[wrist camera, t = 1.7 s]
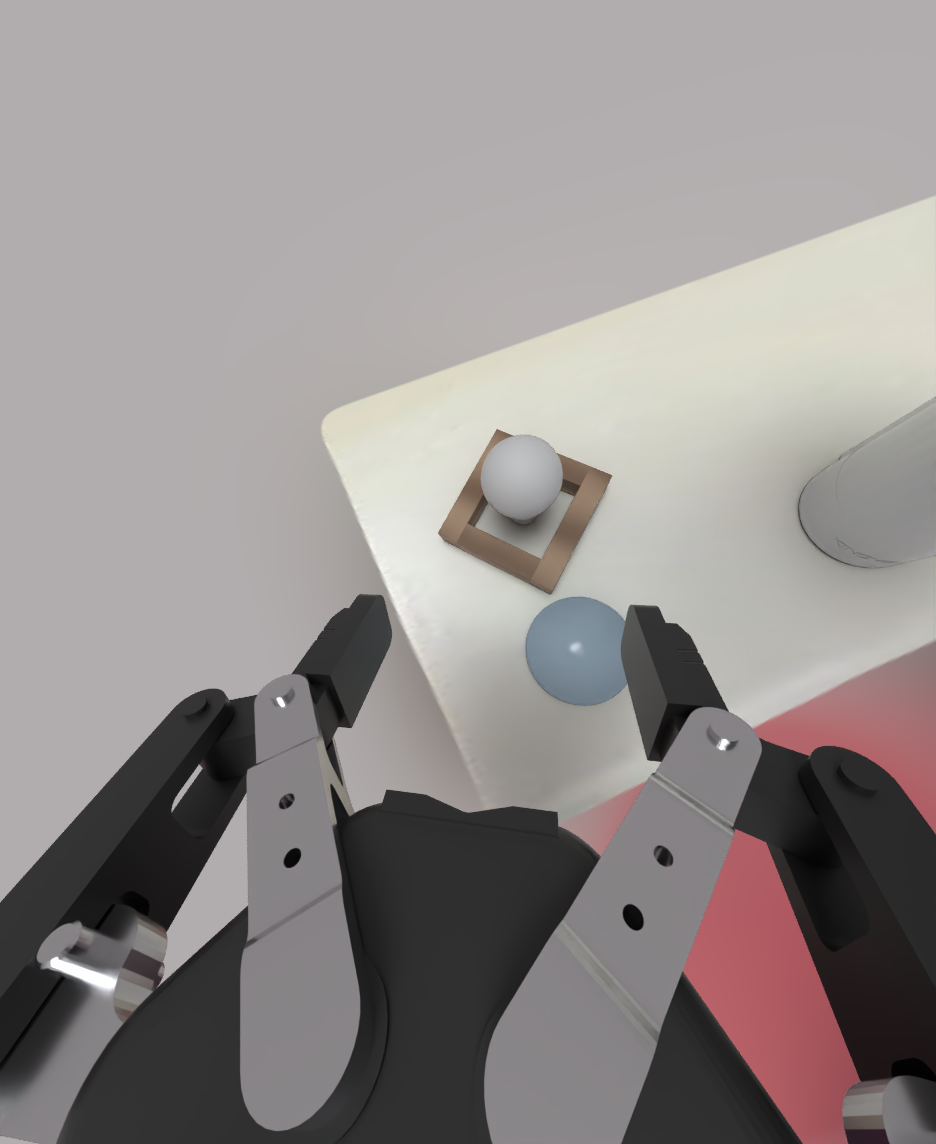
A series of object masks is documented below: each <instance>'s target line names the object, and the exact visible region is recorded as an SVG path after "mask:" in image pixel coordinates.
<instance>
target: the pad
mask: <svg viewBox="0 0 936 1144" xmlns="http://www.w3.org/2000/svg"><path fill="white" fill-rule="evenodd" d="M624 626H625V621H624V619H623V618H622V617H621V616H620V615H619V614H618V613H617V612H616V611H615V610H613V609H612V608H611V607H609V606H608V605H606V604H604V603H602V602H600V601H597V600H594V599H590V598H585V597H571V598H565V599H561V600H559V601H556V602H554V603H552V604H550V605H549V606H547V607H546V608H544V609H543V610H542V611H541V612H540V613H539V614H538V616H537V617H536V618H535V619H534V621H533V623H532V624H531V627H530V629H529V632H528V635H527V641H526V655H527V660H528V664H529V667H530V670H531V672H532V674H533V676H534V677H535V679H536V680H537V682H538V683H539V684H540V685H541V686H542V688H543V689H544V690H546V691H547V692H548V693H549V694H551V695H552V696H554V697H555V698H557V699H559V700H561V701H564V702H566V703H570V704H574V705H594V704H599V703H602V702H605V701H607V700H609V699H611V698H613V697H614V696H615V695H617V694H618V693H619V692H620V691H621V690H622V689H623V688H624V687H625V686H626V684H627V679H626V676H625V672H624V668H623V664H622V660H621V640H622V636H623V631H624Z"/></svg>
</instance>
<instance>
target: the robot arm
mask: <svg viewBox="0 0 936 1144" xmlns="http://www.w3.org/2000/svg"><path fill="white" fill-rule="evenodd" d="M799 511H800V519H801V522H802V525H803V528H804V529H805V531H806V533H807V534H808V536H809V538H810V539H811V540H812V541H813V542H814V543H815V544H816V545H817V546H818V547H819V548H820V549H821V550H823V551H824V552H825V553H827V554H828V555H829V556H831V557H833V558H835V559H837V560H840V561H842V562H844V563H848V564H851V565H854V566H860V567H868V568H875V567H887V566H891V565H896V564H900V563H905V562H909V561H914V560H918V559H923V558H927V557H932V556H936V397H934V398H933V399H931V400H929V401H928V402H926V403H925V404H923V405H921V406H920V407H918V408H916V409H915V410H913V411H912V412H910V413H908V414H907V415H905V416H904V417H902V418H900V419H899V420H897V421H895V422H894V423H892V424H891V425H889V426H887V427H886V428H884V429H883V430H881V431H879V432H878V433H876V434H875V435H873V436H871V437H870V438H868V439H866V440H865V441H863V442H862V443H860V444H858V445H857V446H855V447H854V448H852V449H850V450H849V451H847V452H845V453H844V454H842V455H841V458H840V460H839V461H837V462H836V463H834V464H832V465H831V466H829V467H827V468H826V469H824V470H823V471H821V472H820V473H818V474H817V475H816V476H814V477H813V478H812V479H811V480H810V482H809V483H808V484H807V485H806V486H805V489H804V491H803V493H802V495H801V499H800V504H799ZM391 638H392V629H391V625H390V621H389V617H388V613H387V609H386V605H385V601H384V598H383V596H381V595H368V594H360V595H358V596H357V597H356V599H355V600H354V602H353V603H352V605H351V606H350V608H344V609H343V610H341V611H340V612H338V613H337V614H336V615H335V616H333V617H332V618H331V619H330V621H329V622H328V624H327V625H326V626H325V628H324V631H322V632H321V633H320V635H319V636H318V638H317V640H316V641H315V642H314V643H313V645H312V646H311V647H310V649H309V650H308V652H307V653H306V654H305V656H304V657H303V659H302V660H301V662H300V663H299V664H298V666H297V667H296V668H295V670H294V671H293V673H292V674H290V675H285V676H282V677H279V678H277V679H275V680H273V681H271V682H270V683H269V684H267V685H266V686H265V687H264V688H263V689H262V690H261V691H260V692H259V693H258V695H254V696H249V697H244V698H239V699H234V700H229V699H228V698H227V696H226V695H225V693H224V692H223V691H222V690H219V689H206V690H203V691H200V692H197V693H195V694H193V695H191V696H189V697H188V698H186V699H184V700H183V701H182V702H180V703H179V704H178V705H177V706H176V707H175V708H174V709H173V710H172V711H171V712H170V713H169V714H168V716H167V717H166V718H165V719H164V720H163V721H162V722H161V724H160V725H159V726H158V727H157V728H156V729H155V730H154V731H153V732H152V734H151V735H150V736H149V737H148V738H147V739H146V740H145V741H144V742H143V744H142V745H141V746H140V747H139V748H138V749H137V750H136V751H135V753H134V754H133V755H132V756H131V757H130V758H129V759H128V760H127V761H126V763H125V764H124V765H123V766H122V767H121V768H120V769H119V771H118V772H117V773H116V774H115V775H114V776H113V777H112V778H111V780H110V781H109V782H108V783H107V784H106V785H105V786H104V787H103V788H102V790H100V792H99V793H98V794H97V795H96V796H95V797H94V798H93V800H92V801H91V802H90V803H89V804H88V805H87V806H86V807H85V809H84V810H83V811H82V812H81V813H80V814H79V815H78V816H77V817H76V819H75V820H74V821H73V822H72V823H71V824H70V825H69V826H68V827H67V829H66V830H65V831H64V832H63V833H62V834H61V835H60V836H59V837H58V839H57V840H56V841H55V842H54V843H53V844H52V845H51V847H50V848H49V849H48V850H47V851H46V852H45V853H44V854H43V855H42V857H41V858H40V859H39V860H38V861H37V862H36V863H35V864H34V865H33V867H32V868H31V869H30V870H29V871H28V872H27V873H26V874H25V876H24V877H23V878H22V879H21V880H20V881H19V882H18V883H17V884H16V886H15V887H14V888H13V889H12V890H11V891H10V892H9V893H8V894H7V896H6V897H5V898H4V899H3V900H2V901H1V903H0V1136H5V1137H10V1138H15V1139H19V1140H24V1141H29V1142H34V1143H39V1144H803V1143H802V1142H801V1140H800V1139H799V1138H798V1136H797V1135H796V1133H795V1132H794V1130H793V1129H792V1127H791V1126H790V1125H789V1123H788V1122H787V1120H786V1119H785V1117H784V1116H783V1114H782V1113H781V1112H780V1110H779V1109H778V1107H777V1106H776V1105H775V1103H774V1102H773V1100H772V1099H771V1097H770V1096H769V1094H768V1093H767V1092H766V1090H765V1089H764V1088H763V1086H762V1084H761V1083H760V1082H759V1080H758V1079H757V1077H756V1076H755V1074H754V1073H753V1072H752V1070H751V1069H750V1067H749V1066H748V1064H747V1063H746V1061H745V1060H744V1059H743V1057H742V1056H741V1055H740V1053H739V1051H738V1050H737V1049H736V1047H735V1046H734V1044H733V1043H732V1041H731V1040H730V1039H729V1037H728V1036H727V1034H726V1033H725V1031H724V1030H723V1029H722V1027H721V1026H720V1025H719V1023H718V1021H717V1020H716V1018H715V1017H714V1016H713V1014H712V1013H711V1011H710V1010H709V1008H708V1007H707V1006H706V1004H705V1003H704V1002H703V1000H702V998H701V997H700V996H699V994H698V993H697V991H696V990H695V989H694V987H693V986H692V984H691V983H690V981H689V980H688V979H687V977H686V975H685V974H684V973H683V968H684V966H685V963H686V960H687V958H688V955H689V953H690V950H691V947H692V945H693V942H694V940H695V937H696V934H697V931H698V929H699V927H700V924H701V921H702V919H703V916H704V913H705V911H706V908H707V905H708V903H709V900H710V898H711V895H712V892H713V890H714V887H715V885H716V882H717V879H718V877H719V874H720V871H721V869H722V866H723V863H724V861H725V858H726V856H727V853H728V850H729V848H730V845H731V842H732V839H733V836H734V832H735V829H737V830H740V831H742V832H744V833H746V834H749V835H751V836H753V837H756V838H758V839H760V840H762V841H765V842H766V843H767V845H768V848H769V850H770V853H771V855H772V858H773V860H774V863H775V866H776V868H777V870H778V873H779V875H780V878H781V881H782V883H783V886H784V888H785V891H786V893H787V896H788V899H789V901H790V904H791V906H792V909H793V911H794V914H795V916H796V919H797V921H798V924H799V926H800V929H801V931H802V934H803V937H804V939H805V941H806V944H807V946H808V949H809V952H810V954H811V956H812V959H813V962H814V964H815V967H816V970H817V972H818V974H819V977H820V979H821V982H822V985H823V987H824V990H825V992H826V995H827V997H828V1000H829V1002H830V1005H831V1008H832V1010H833V1013H834V1015H835V1018H836V1020H837V1023H838V1025H839V1028H840V1030H841V1033H842V1035H843V1038H844V1040H845V1043H846V1046H847V1048H848V1051H849V1053H850V1056H851V1058H852V1060H853V1063H854V1066H855V1068H856V1071H857V1073H858V1076H859V1079H860V1081H861V1082H858V1083H856V1084H854V1085H852V1086H851V1087H850V1088H849V1089H848V1091H847V1093H846V1095H845V1097H844V1102H843V1123H844V1130H845V1134H846V1137H847V1142H848V1144H936V834H935V833H934V831H933V830H932V829H931V827H930V826H929V825H928V823H927V822H926V821H925V819H924V818H923V816H922V815H921V814H920V812H919V811H918V810H917V808H916V807H915V806H914V804H913V803H912V801H911V800H910V799H909V797H908V796H907V795H906V793H905V792H904V791H903V789H902V788H901V787H900V785H899V784H898V783H897V782H896V780H895V779H894V778H893V777H891V775H890V774H889V773H887V772H886V771H885V770H884V769H883V768H881V767H880V766H878V765H877V764H876V763H874V762H873V761H871V760H869V759H868V758H866V757H864V756H862V755H860V754H858V753H856V752H853V751H851V750H848V749H844V748H840V747H836V746H822V747H819V748H817V749H815V750H814V751H813V752H812V754H811V755H810V756H808V755H804V754H802V753H798V752H795V751H793V750H790V749H787V748H784V747H781V746H778V745H775V744H772V743H769V742H767V741H765V740H762V739H760V738H758V736H757V734H756V733H755V732H754V730H753V729H752V728H751V727H750V726H749V725H748V724H747V723H746V722H745V721H743V720H742V719H741V718H739V717H738V716H736V715H734V714H732V713H730V712H729V711H728V709H727V707H726V705H725V703H724V701H723V699H722V697H721V695H720V693H719V691H718V689H717V688H716V686H715V684H714V682H713V680H712V678H711V676H710V674H709V672H708V670H707V668H706V666H705V665H704V664H703V660H702V658H701V656H700V654H699V653H698V652H697V651H698V650H697V648H696V646H695V644H694V642H693V640H692V638H691V636H690V635H689V634H688V633H686V632H685V631H684V630H683V629H682V628H681V627H680V626H679V625H678V624H674V623H665V620H664V618H663V616H662V614H661V611H660V609H659V607H658V606H646V605H630V606H629V608H628V612H627V617H626V622H625V626H624V631H623V636H622V640H621V660H622V664H623V668H624V672H625V676H626V679H627V683H628V687H629V691H630V695H631V699H632V703H633V706H634V710H635V714H636V718H637V722H638V726H639V729H640V733H641V737H642V741H643V745H644V749H645V753H646V756H647V760H649V761H659V762H661V764H660V766H659V767H658V769H657V771H656V772H655V773H652V774H651V776H650V777H649V779H648V780H647V782H646V783H645V785H644V787H643V789H642V790H641V792H640V793H639V795H638V797H637V798H636V800H635V802H634V803H633V805H632V807H631V808H630V810H629V812H628V813H627V815H626V816H625V818H624V820H623V821H622V823H621V825H620V826H619V828H618V830H617V831H616V833H615V835H614V836H613V838H612V840H611V841H610V843H609V845H608V846H607V848H606V850H605V851H604V853H603V854H602V856H600V855H599V854H598V853H597V852H596V851H595V850H594V849H593V848H591V847H590V846H589V845H588V844H587V843H586V842H584V841H583V840H582V839H580V838H579V837H578V836H576V835H574V834H573V833H571V832H569V831H568V830H566V829H564V828H561V827H559V826H558V814H557V812H552V811H545V810H537V809H530V808H522V807H515V806H511V807H505V808H498V809H492V810H485V811H479V812H472V813H466V812H463V811H461V810H458V809H456V808H454V807H452V806H450V805H447V804H445V803H443V802H441V801H438V800H436V799H434V798H432V797H430V796H427V795H423V794H416V793H408V792H401V791H393V790H386V793H385V796H384V799H383V802H382V803H379V804H376V805H372V806H369V807H366V808H364V809H362V810H359V811H358V812H356V813H354V810H353V807H352V804H351V801H350V799H349V795H348V792H347V788H346V784H345V780H344V776H343V772H342V767H341V763H340V760H339V755H338V751H337V747H336V743H335V740H334V737H333V736H334V734H335V732H336V730H337V728H338V727H346V728H352V726H353V724H354V722H355V720H356V717H357V715H358V713H359V711H360V709H361V707H362V705H363V702H364V700H365V698H366V696H367V694H368V692H369V689H370V687H371V685H372V683H373V681H374V679H375V677H376V674H377V672H378V670H379V668H380V665H381V664H382V662H383V659H384V657H385V655H386V653H387V651H388V649H389V646H390V643H391ZM199 764H200V765H201V767H202V768H203V769H202V770H201V772H200V773H199V775H198V776H197V778H196V779H195V780H194V782H193V783H192V785H191V786H190V787H189V789H188V790H187V792H186V793H185V794H184V796H183V797H182V799H181V800H180V802H179V803H178V804H177V806H176V807H175V809H174V810H173V812H172V813H171V809H172V804H173V802H174V799H175V797H176V796H177V794H178V793H179V791H180V790H181V789H182V787H183V786H184V784H185V783H186V782H187V780H188V779H189V777H190V776H191V775H192V773H193V772H194V771H195V769H196V768H197V766H198V765H199ZM246 792H247V853H248V854H247V855H248V906H247V907H246V908H245V909H244V910H243V911H241V912H240V913H239V914H238V915H237V916H236V917H235V918H234V919H232V920H231V921H230V922H229V923H228V924H227V925H226V926H225V927H224V928H223V929H221V930H220V931H219V932H218V933H217V934H216V935H215V936H214V937H213V938H212V939H211V940H209V941H208V942H207V943H206V944H205V945H204V946H203V947H202V948H200V949H199V950H198V951H197V952H196V953H195V954H194V955H193V956H192V957H191V958H189V959H188V960H187V961H186V962H185V963H184V964H183V965H182V966H181V967H180V968H178V969H177V970H176V971H175V972H174V973H173V974H172V975H171V976H170V977H169V978H167V979H166V980H165V981H164V982H163V983H162V984H161V985H160V986H159V987H158V985H159V984H160V982H161V980H162V977H163V975H164V970H165V967H164V963H163V960H164V957H165V954H166V949H167V933H166V932H167V930H168V929H169V927H170V925H171V923H172V922H173V920H174V918H175V916H176V915H177V913H178V911H179V909H180V908H181V906H182V904H183V902H184V901H185V899H186V897H187V895H188V894H189V892H190V890H191V888H192V887H193V885H194V883H195V882H196V880H197V878H198V876H199V875H200V873H201V871H202V869H203V867H204V866H205V864H206V862H207V861H208V859H209V857H210V855H211V854H212V851H213V850H214V848H215V847H216V845H217V843H218V841H219V840H220V838H221V836H222V834H223V833H224V831H225V829H226V827H227V826H228V824H229V822H230V820H231V818H232V817H233V815H234V813H235V811H236V810H237V808H238V806H239V805H240V803H241V801H242V799H243V797H244V796H245V794H246ZM734 828H735V829H734Z"/></svg>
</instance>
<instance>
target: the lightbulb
mask: <svg viewBox="0 0 936 1144" xmlns="http://www.w3.org/2000/svg"><path fill="white" fill-rule="evenodd" d="M562 481H563V470H562V464H561V462H560V459H559V456H558V455H557V453H556V452H555V450H554V449H553V448H552V447H551V446H550V445H549V444H548V443H547V442H546V441H544V440H543V439H540V438H538V437H536V436H531V435H516V436H512V437H509V438H506V439H504V440H502V441H500V442H499V443H498V444H497V445H495V446H494V447H493V448H492V449H491V451H490V452H489V453H488V455H487V457H486V459H485V460H484V463H483V466H482V471H481V486H482V490H483V493H484V496H485V498H486V499H487V501H488V502H489V504H490V505H491V506H492V507H493V508H494V509H495V510H497V511H498V512H499V513H501V514H503V515H505V516H507V517H511V518H512V519H513V521H515V522H516V523H518V524H528V523H530V522H531V521H533V520H534V518H535V517H536V515H538V514H540V513H542V512H543V511H545V510H546V509H547V508H548V507H549V506H550V505H551V504H552V503H553V502H554V501H555V499H556V498H557V496H558V494H559V492H560V489H561V486H562Z"/></svg>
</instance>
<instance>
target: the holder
mask: <svg viewBox="0 0 936 1144" xmlns="http://www.w3.org/2000/svg"><path fill="white" fill-rule="evenodd" d="M512 436H513V435H510V434H508V433H505V432H503V431H500V430H498V429H497V430H496V432H495V433H494V435H493V437H492V439H491V440H490V442H489V444H488V446H487V447H486V449H485V451H484V453H483V455H482V456H481V458H480V460H479V462H478V463H477V465H476V467H475V469H474V470H473V472H472V474H471V476H470V477H469V479H468V481H467V483H466V485H465V486H464V488H463V490H462V492H461V493H460V495H459V497H458V499H457V500H456V502H455V504H454V506H453V507H452V509H451V511H450V513H449V515H448V516H447V518H446V520H445V522H444V523H443V525H442V527H441V529H440V530H439V532H438V534H439V535H440V536H441V537H442V539H443V540H444V541H446V542H448V543H450V544H452V545H454V546H456V547H458V548H460V549H462V550H464V551H466V552H468V553H470V554H471V555H473V556H475V557H477V558H479V559H481V560H483V561H485V562H487V563H489V564H491V565H493V566H495V567H497V568H499V569H501V570H503V571H505V572H507V573H509V574H511V575H513V576H515V577H517V578H519V579H521V580H523V581H525V582H527V583H529V584H531V585H533V586H535V587H537V588H539V589H541V590H543V591H545V592H547V593H549V594H551V593H552V591H553V589H554V587H555V585H556V583H557V581H558V580H559V578H560V576H561V574H562V572H563V570H564V568H565V566H566V564H567V562H568V560H569V559H570V557H571V555H572V553H573V551H574V549H575V547H576V545H577V543H578V541H579V539H580V537H581V536H582V534H583V532H584V530H585V528H586V526H587V524H588V522H589V520H590V518H591V516H592V515H593V513H594V511H595V509H596V507H597V505H598V503H599V501H600V499H601V497H602V495H603V493H604V492H605V490H606V488H607V486H608V483H609V481H610V479H611V477H612V475H610V474H608V473H605V472H603V471H600V470H598V469H595V468H593V467H590V466H588V465H585V464H583V463H580V462H578V461H575V460H573V459H570V458H568V457H565V456H563V455H560V454H558V453H557V455H558V456H559V459H560V462H561V464H562V470H563V481H562V486H561V489H560V490H562V491H564V492H566V493H569V494H571V495H573V496H575V497H574V499H573V501H572V503H571V505H570V507H569V509H568V511H567V513H566V514H565V516H564V518H563V520H562V522H561V524H560V526H559V528H558V529H557V531H556V533H555V535H554V537H553V539H552V541H551V543H550V545H549V546H548V548H547V550H546V552H545V554H544V556H543V558H542V559H540V558H538V557H535V556H533V555H531V554H529V553H527V552H525V551H523V550H521V549H519V548H517V547H515V546H513V545H511V544H508V543H506V542H504V541H502V540H500V539H498V538H496V537H494V536H492V535H490V534H488V533H486V532H484V531H482V530H479V529H477V528H475V527H474V526H475V524H476V523H477V521H478V519H479V517H480V515H481V514H482V512H483V510H484V508H485V507H486V505H487V503H488V501H487V499H486V498H485V496H484V493H483V490H482V486H481V471H482V466H483V463H484V460H485V459H486V457H487V455H488V453H489V452H490V451H491V449H492V448H493V447H494V446H495V445H497V444H498V443H499V442H500V441H502V440H504V439H506V438H509V437H512Z"/></svg>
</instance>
